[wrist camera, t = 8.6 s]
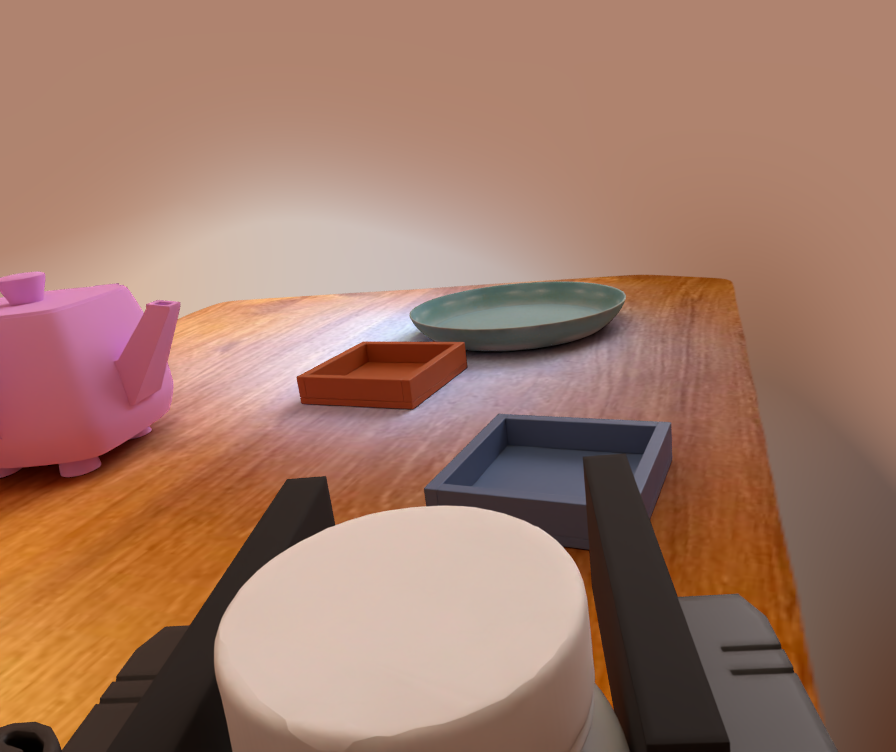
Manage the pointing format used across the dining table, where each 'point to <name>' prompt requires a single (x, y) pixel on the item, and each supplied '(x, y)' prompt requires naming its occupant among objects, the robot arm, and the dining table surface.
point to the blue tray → (550, 469)
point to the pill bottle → (415, 642)
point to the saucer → (519, 315)
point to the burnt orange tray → (383, 374)
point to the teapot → (78, 372)
